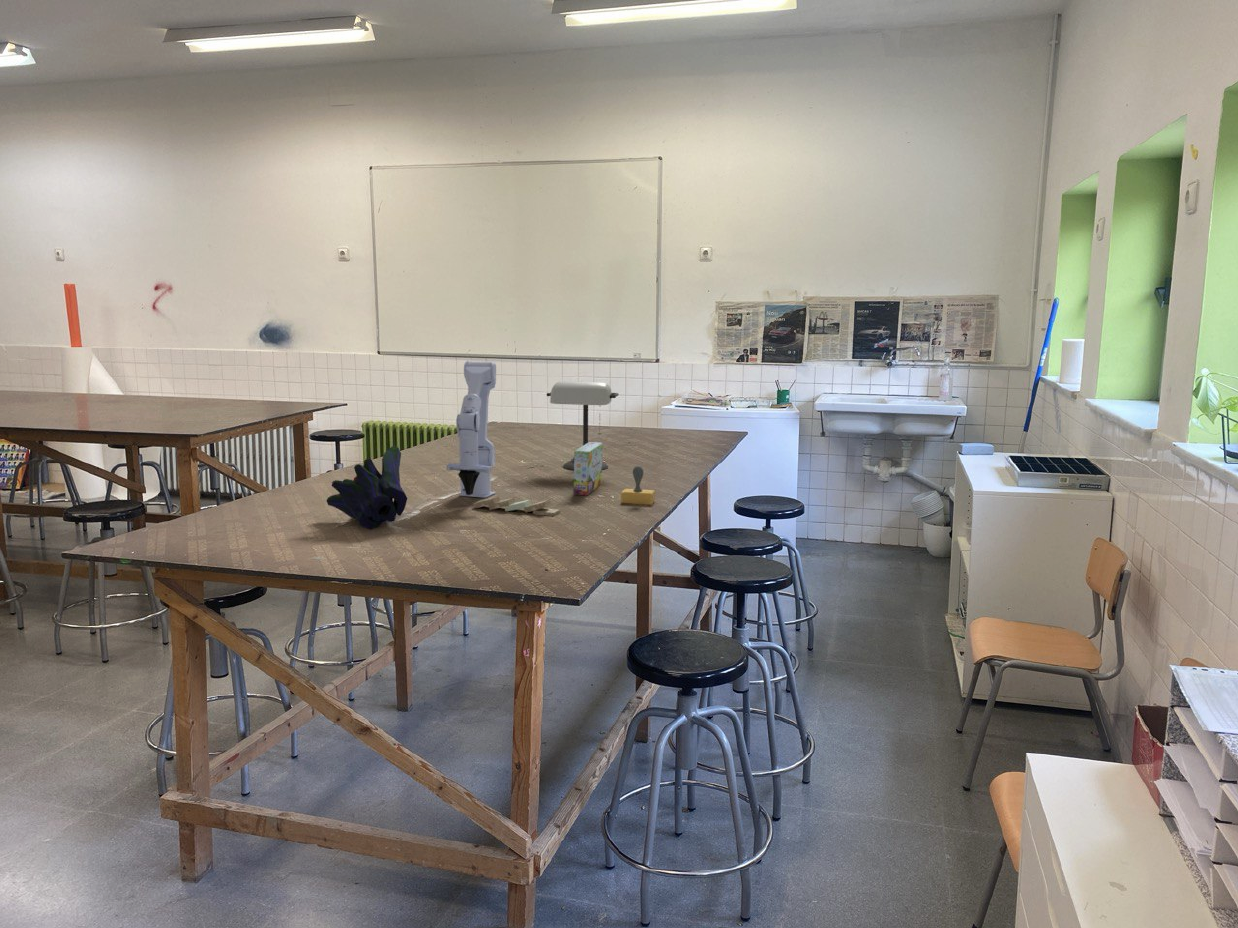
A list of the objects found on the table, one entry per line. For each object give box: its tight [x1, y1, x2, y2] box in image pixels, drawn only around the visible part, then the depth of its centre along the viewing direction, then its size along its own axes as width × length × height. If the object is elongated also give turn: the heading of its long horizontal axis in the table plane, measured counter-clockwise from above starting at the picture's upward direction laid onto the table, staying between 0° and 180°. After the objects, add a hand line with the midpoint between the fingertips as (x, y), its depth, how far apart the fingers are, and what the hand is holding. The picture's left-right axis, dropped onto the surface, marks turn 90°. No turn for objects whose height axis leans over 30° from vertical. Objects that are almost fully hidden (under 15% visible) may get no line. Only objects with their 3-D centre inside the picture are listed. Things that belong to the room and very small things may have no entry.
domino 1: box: [473, 495, 501, 509], centre depth 278 cm, size 2×4×7 cm
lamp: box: [546, 381, 620, 471], centre depth 343 cm, size 26×24×34 cm
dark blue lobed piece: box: [325, 445, 408, 530], centre depth 261 cm, size 21×26×30 cm
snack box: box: [572, 441, 604, 496], centre depth 306 cm, size 21×6×15 cm, turn 169°
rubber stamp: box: [620, 465, 655, 506], centre depth 288 cm, size 10×6×12 cm, turn 78°
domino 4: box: [523, 498, 552, 513], centre depth 273 cm, size 2×4×7 cm
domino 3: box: [503, 499, 533, 512], centre depth 274 cm, size 2×4×7 cm
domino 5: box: [532, 507, 561, 517], centre depth 272 cm, size 2×4×7 cm
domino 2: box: [487, 497, 516, 511], centre depth 276 cm, size 2×4×7 cm
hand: (469, 494), depth 279 cm, fingers closed
